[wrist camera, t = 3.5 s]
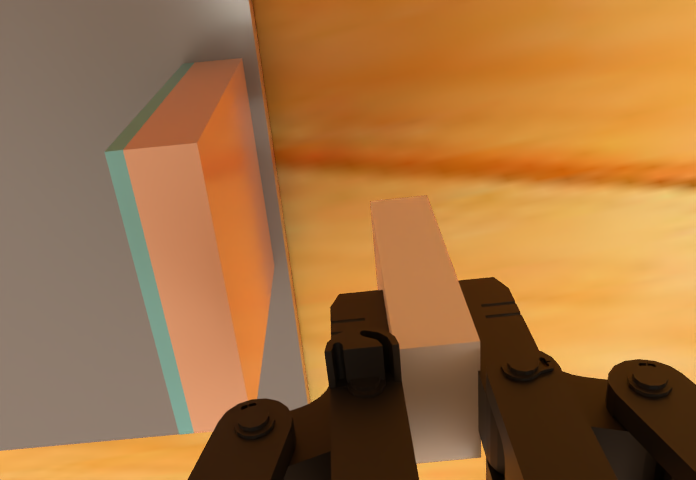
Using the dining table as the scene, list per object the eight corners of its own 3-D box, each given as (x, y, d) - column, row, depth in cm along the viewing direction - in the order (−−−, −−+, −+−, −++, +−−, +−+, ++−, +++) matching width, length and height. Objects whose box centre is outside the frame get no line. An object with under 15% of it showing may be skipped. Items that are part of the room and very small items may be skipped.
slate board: (-251, -179, 20) (-278, -183, 19) (219, -226, 20) (214, -232, 19) (6, 434, 30) (-3, 450, 30) (310, 406, 30) (310, 422, 29)
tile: (182, 63, 22) (104, 151, 14) (241, 57, 22) (197, 142, 14) (223, 270, 26) (179, 434, 18) (274, 265, 26) (253, 427, 18)
